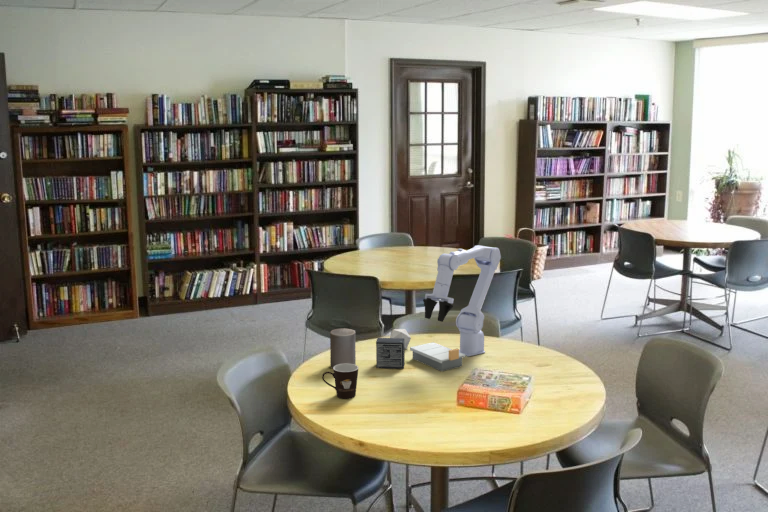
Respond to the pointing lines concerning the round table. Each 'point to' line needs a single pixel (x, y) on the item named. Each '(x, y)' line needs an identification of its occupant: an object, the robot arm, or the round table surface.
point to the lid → (437, 352)
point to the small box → (390, 353)
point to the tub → (439, 366)
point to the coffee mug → (344, 380)
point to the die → (401, 336)
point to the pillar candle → (342, 347)
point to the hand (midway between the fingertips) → (433, 319)
